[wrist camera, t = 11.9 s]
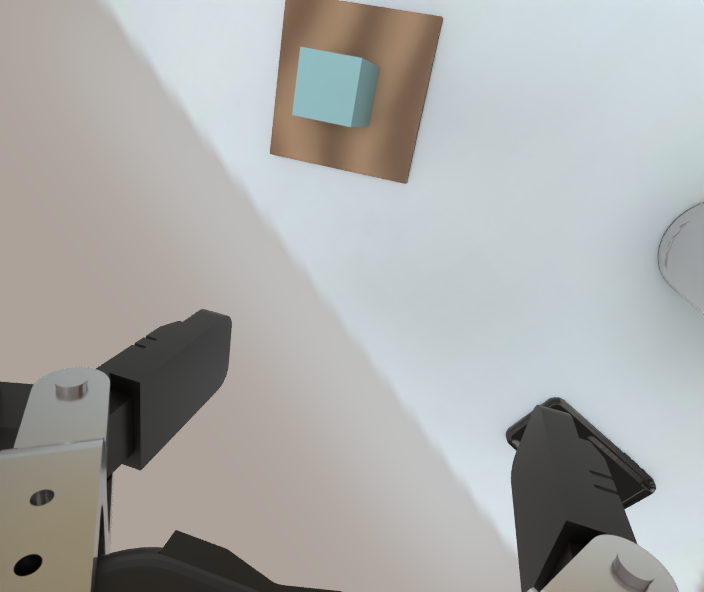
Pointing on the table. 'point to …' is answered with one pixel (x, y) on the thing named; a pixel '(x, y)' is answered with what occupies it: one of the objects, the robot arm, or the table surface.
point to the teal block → (334, 88)
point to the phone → (623, 470)
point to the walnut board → (391, 90)
